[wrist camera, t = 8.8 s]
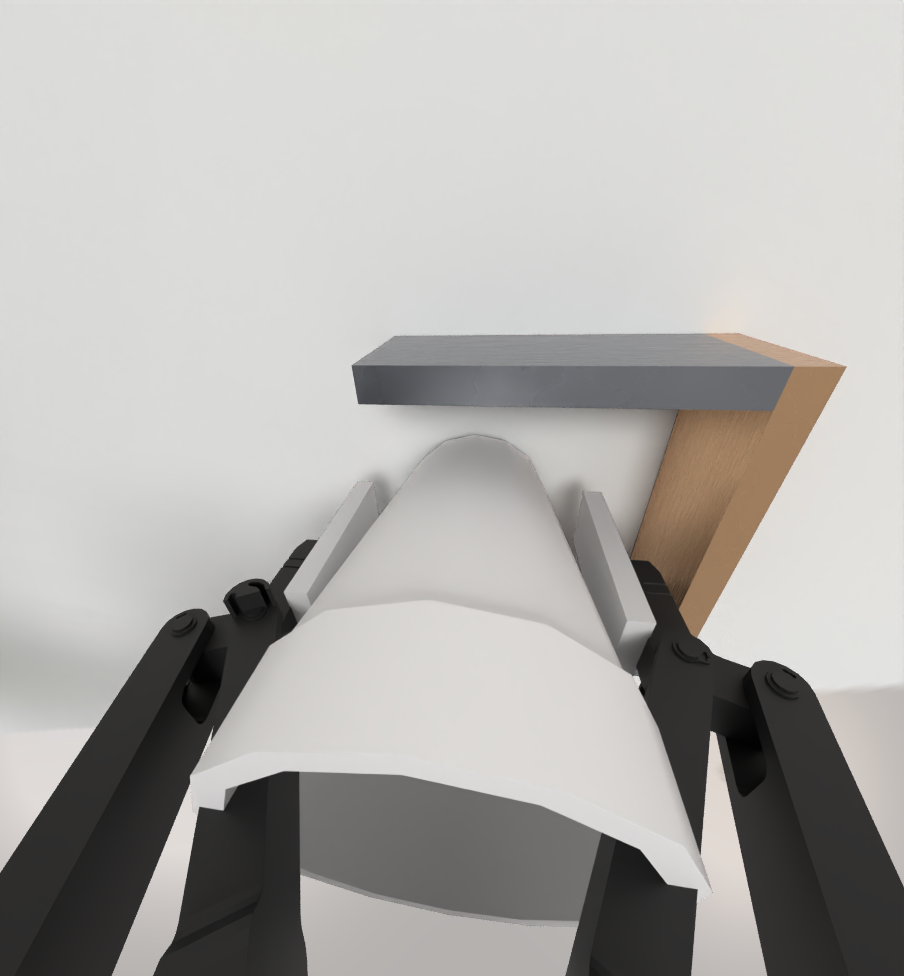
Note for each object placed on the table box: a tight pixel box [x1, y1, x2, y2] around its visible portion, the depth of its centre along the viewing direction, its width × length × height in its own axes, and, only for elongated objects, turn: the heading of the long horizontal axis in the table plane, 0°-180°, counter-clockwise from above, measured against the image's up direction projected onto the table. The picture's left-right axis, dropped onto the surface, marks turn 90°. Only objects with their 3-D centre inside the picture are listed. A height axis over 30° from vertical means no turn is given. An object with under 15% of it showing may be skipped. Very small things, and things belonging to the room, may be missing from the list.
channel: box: [352, 333, 846, 676], centre depth 16 cm, size 13×14×5 cm
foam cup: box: [190, 435, 713, 927], centre depth 12 cm, size 10×9×13 cm
